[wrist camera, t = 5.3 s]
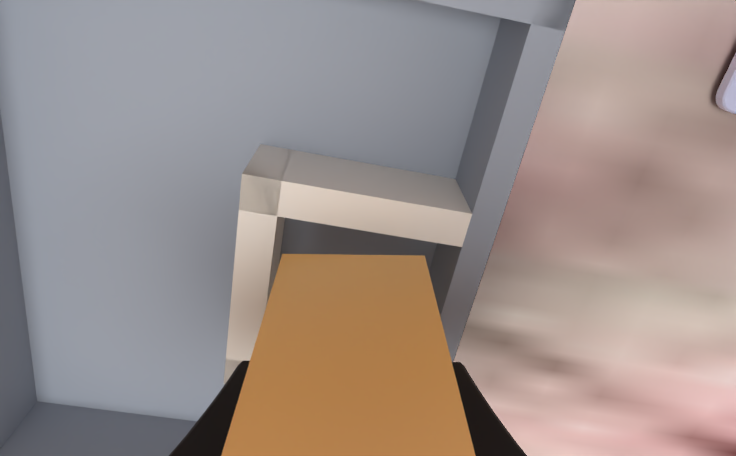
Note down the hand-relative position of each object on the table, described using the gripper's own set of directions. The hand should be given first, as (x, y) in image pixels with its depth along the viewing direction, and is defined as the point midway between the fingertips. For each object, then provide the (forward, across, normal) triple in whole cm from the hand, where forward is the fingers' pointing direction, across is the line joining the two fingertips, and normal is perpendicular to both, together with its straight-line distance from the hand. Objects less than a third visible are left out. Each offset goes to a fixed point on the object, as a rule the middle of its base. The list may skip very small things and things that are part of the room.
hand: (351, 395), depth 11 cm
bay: (+6, +4, -1) cm, 8 cm away
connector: (+2, 0, 0) cm, 3 cm away
